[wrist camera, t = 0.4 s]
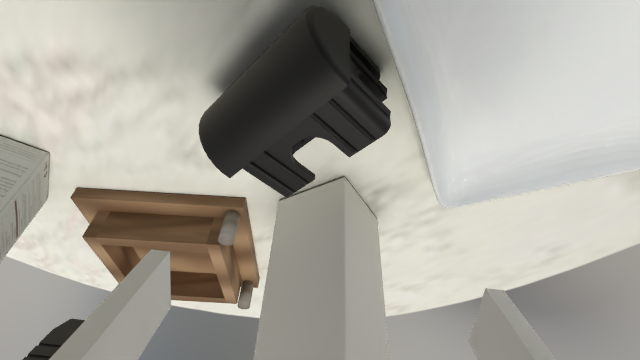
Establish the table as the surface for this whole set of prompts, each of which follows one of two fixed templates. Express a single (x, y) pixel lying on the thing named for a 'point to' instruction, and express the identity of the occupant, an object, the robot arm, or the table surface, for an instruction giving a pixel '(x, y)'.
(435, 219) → the table surface
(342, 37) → the end cap
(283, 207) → the milk carton
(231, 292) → the jig
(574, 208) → the table surface
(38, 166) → the supplement box
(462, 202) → the salad plate
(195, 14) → the table surface
